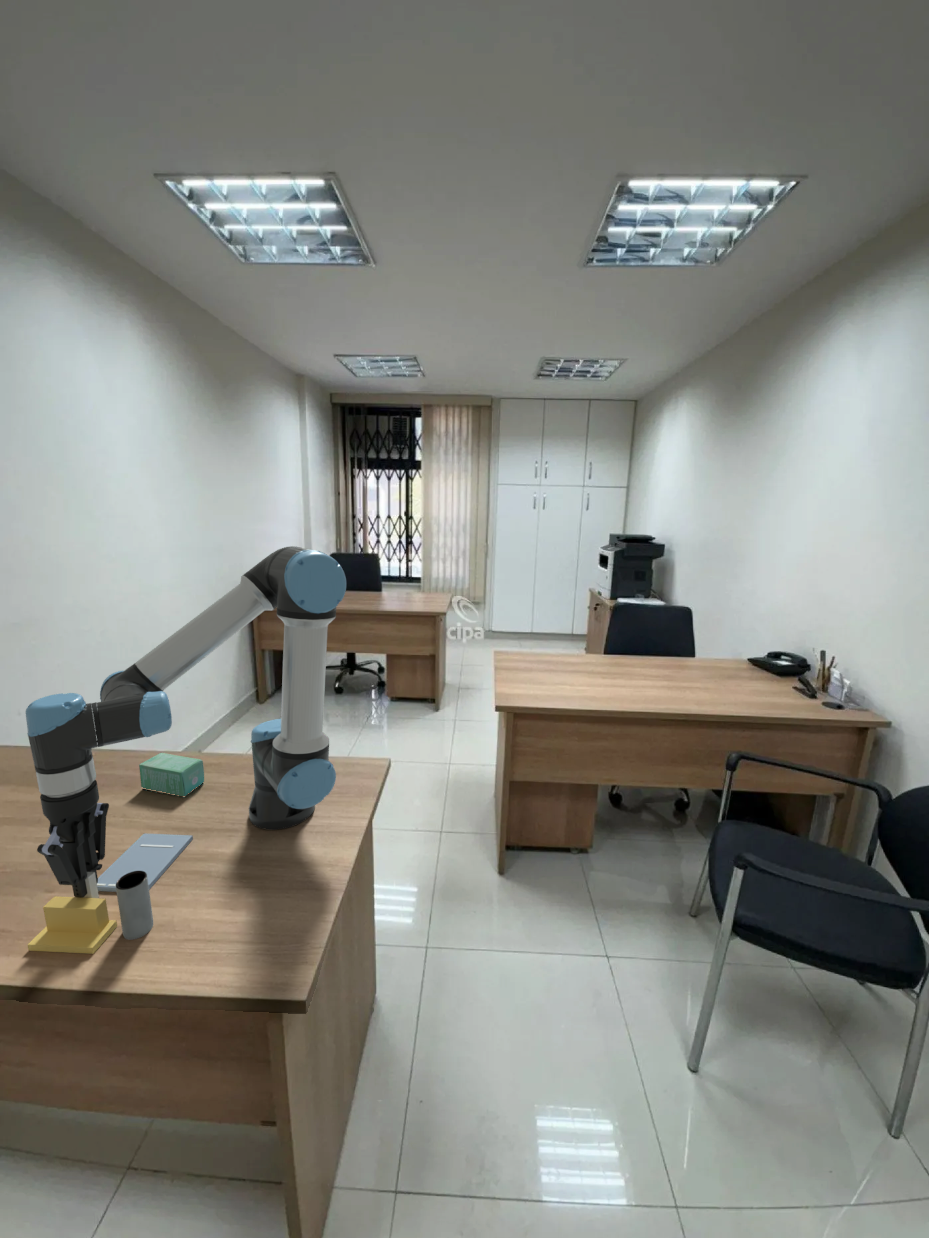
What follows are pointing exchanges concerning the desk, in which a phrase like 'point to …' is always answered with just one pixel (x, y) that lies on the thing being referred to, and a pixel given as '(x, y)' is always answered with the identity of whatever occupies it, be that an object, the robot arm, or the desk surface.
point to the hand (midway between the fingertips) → (89, 906)
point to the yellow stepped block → (74, 925)
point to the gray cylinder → (134, 904)
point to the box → (172, 774)
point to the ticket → (145, 859)
